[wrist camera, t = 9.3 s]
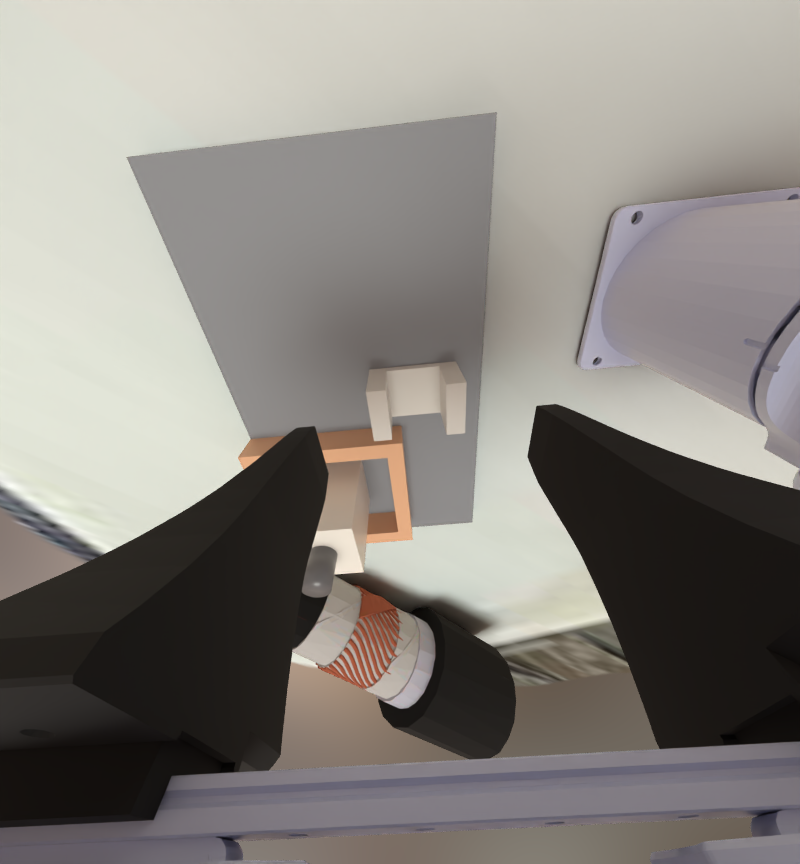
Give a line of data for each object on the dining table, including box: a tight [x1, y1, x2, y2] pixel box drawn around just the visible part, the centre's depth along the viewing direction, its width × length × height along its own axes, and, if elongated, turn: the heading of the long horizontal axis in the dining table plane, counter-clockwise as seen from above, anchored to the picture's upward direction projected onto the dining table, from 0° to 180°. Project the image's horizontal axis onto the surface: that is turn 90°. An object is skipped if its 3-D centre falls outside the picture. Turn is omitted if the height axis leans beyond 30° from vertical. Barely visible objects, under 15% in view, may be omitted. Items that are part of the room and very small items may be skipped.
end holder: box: [238, 426, 413, 543], centre depth 21 cm, size 10×9×2 cm
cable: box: [292, 575, 516, 760], centre depth 29 cm, size 10×34×10 cm, turn 46°
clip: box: [366, 361, 467, 441], centre depth 17 cm, size 5×3×3 cm, turn 95°
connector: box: [302, 460, 370, 598], centre depth 19 cm, size 4×4×8 cm
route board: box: [127, 112, 497, 527], centre depth 19 cm, size 15×24×1 cm, turn 5°
